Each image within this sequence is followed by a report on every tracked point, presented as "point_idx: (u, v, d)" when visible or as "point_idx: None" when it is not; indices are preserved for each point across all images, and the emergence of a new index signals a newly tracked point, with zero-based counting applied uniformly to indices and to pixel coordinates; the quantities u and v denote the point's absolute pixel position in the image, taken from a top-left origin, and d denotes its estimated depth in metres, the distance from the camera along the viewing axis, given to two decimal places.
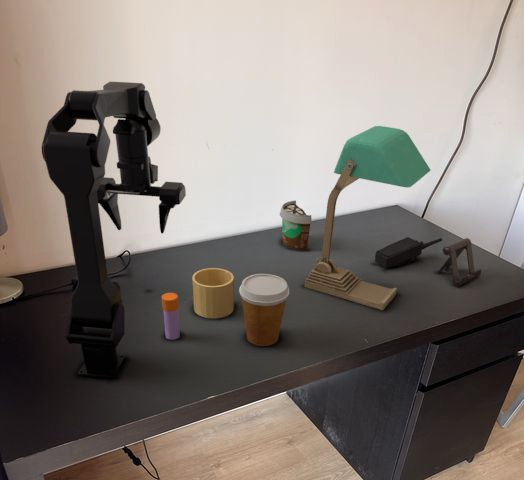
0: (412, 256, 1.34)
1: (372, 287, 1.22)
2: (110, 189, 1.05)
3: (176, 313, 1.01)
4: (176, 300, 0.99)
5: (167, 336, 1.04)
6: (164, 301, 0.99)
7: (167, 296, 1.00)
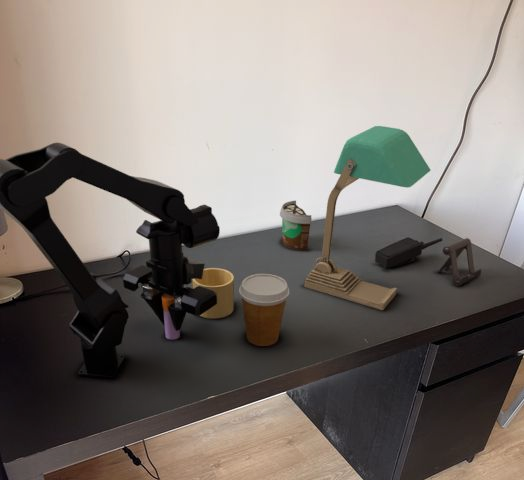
0: (412, 256, 1.34)
1: (372, 287, 1.22)
2: None
3: None
4: None
5: (167, 336, 1.04)
6: (164, 301, 0.99)
7: (167, 296, 1.00)
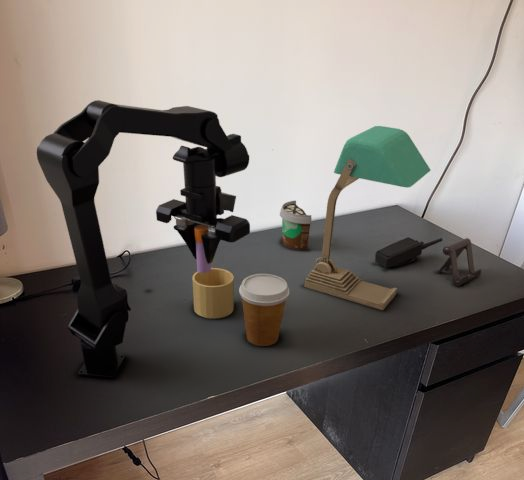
0: (412, 256, 1.34)
1: (372, 287, 1.22)
2: None
3: None
4: None
5: (199, 269, 1.05)
6: (197, 231, 1.00)
7: (200, 227, 1.01)
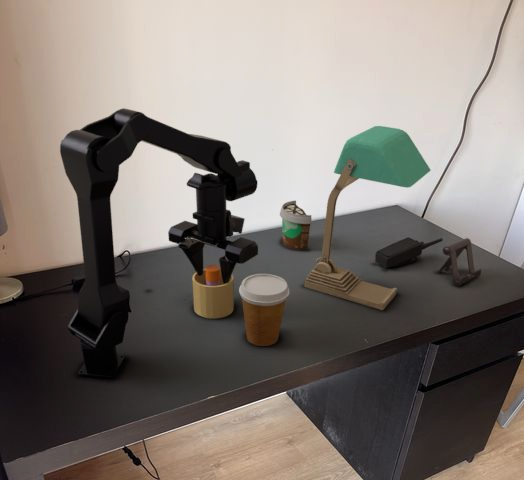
0: (412, 256, 1.34)
1: (372, 287, 1.22)
2: (194, 237, 1.06)
3: (218, 284, 1.10)
4: (218, 271, 1.08)
5: None
6: (208, 272, 1.08)
7: (210, 268, 1.09)
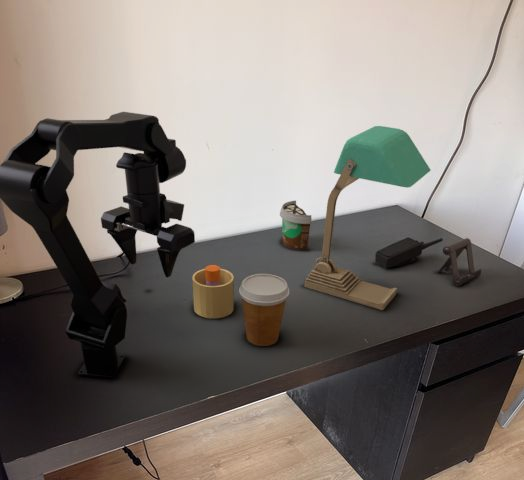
0: (412, 256, 1.34)
1: (372, 287, 1.22)
2: (123, 221, 0.99)
3: (218, 284, 1.10)
4: (218, 271, 1.08)
5: None
6: (208, 272, 1.08)
7: (210, 268, 1.09)
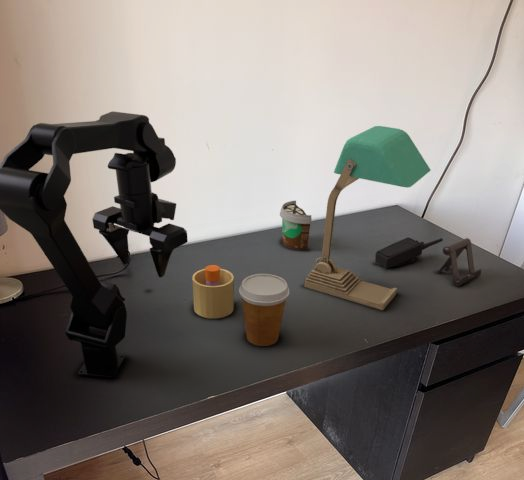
0: (412, 256, 1.34)
1: (372, 287, 1.22)
2: (114, 222, 0.98)
3: (218, 284, 1.10)
4: (218, 271, 1.08)
5: None
6: (208, 272, 1.08)
7: (210, 268, 1.09)
